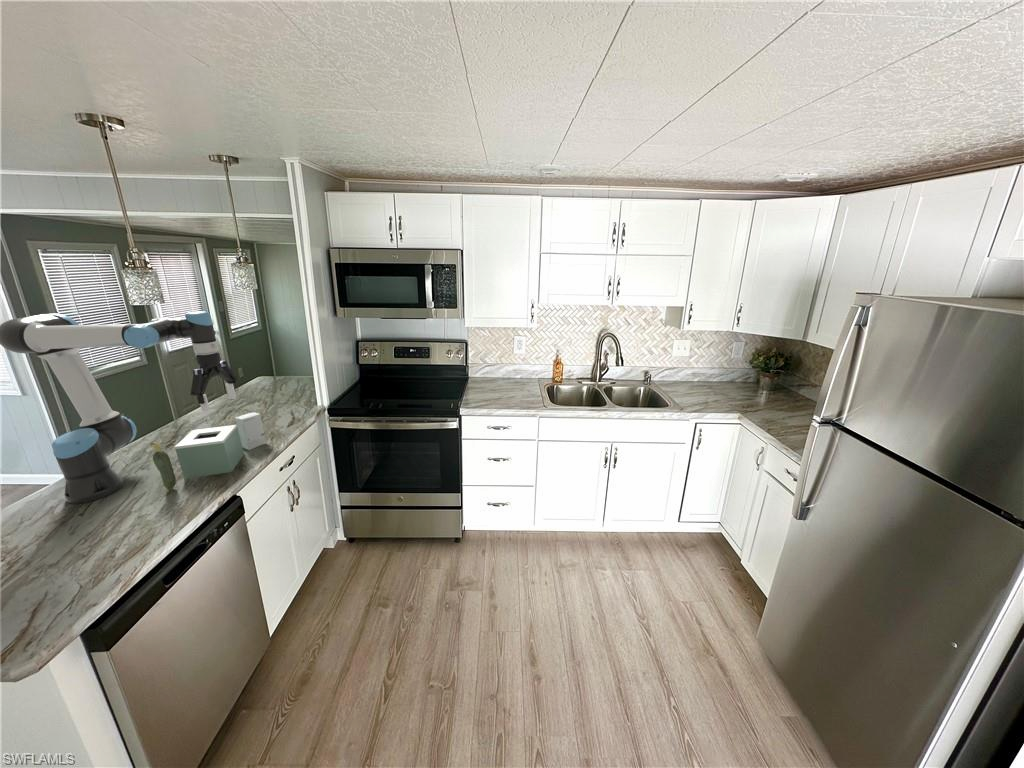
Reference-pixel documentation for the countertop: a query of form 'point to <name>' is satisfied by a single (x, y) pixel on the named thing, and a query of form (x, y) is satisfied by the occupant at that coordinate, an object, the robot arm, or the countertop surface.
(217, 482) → the countertop surface
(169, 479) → the vegetable
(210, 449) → the box
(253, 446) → the skincare box
